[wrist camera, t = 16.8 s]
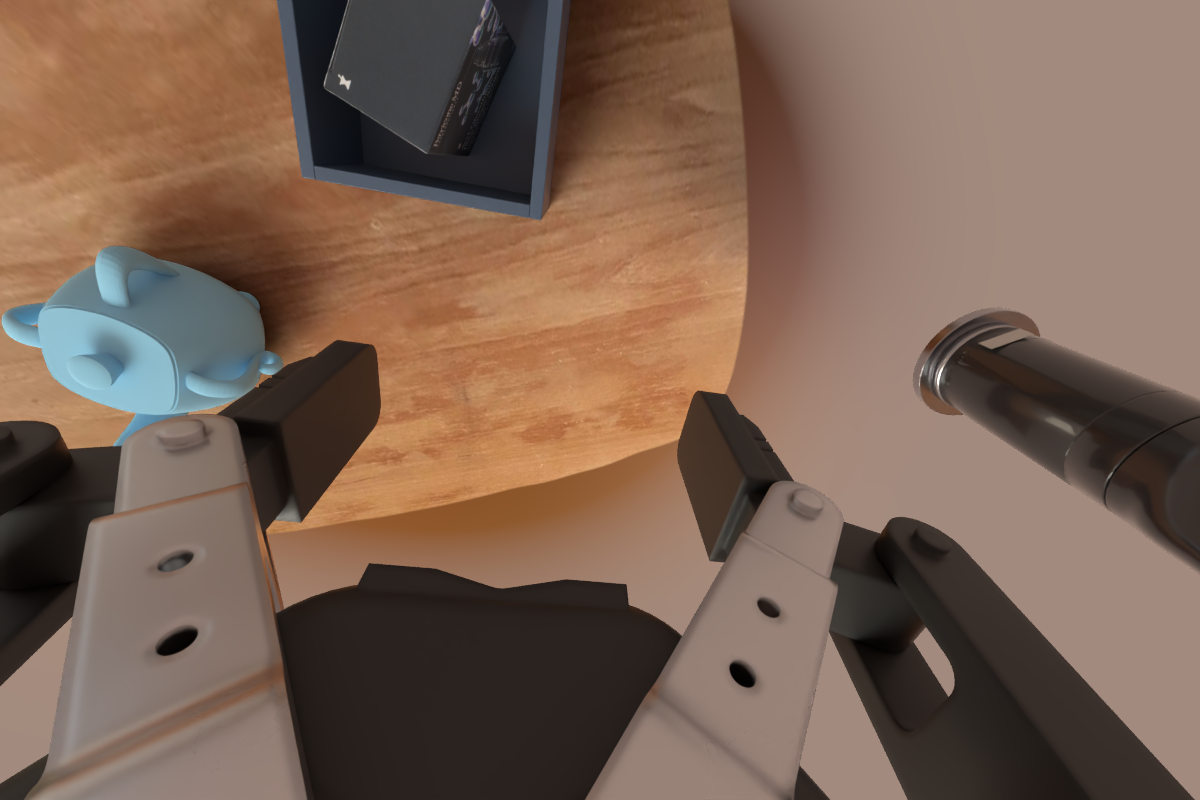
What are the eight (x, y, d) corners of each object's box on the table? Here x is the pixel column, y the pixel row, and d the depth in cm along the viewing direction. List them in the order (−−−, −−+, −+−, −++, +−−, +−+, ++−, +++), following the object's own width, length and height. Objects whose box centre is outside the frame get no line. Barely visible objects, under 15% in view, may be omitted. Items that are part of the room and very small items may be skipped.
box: (470, 158, 32) (426, 157, 23) (396, 108, 30) (316, 86, 21) (519, 45, 29) (491, -7, 20) (440, -16, 27) (369, -106, 18)
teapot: (228, 225, 35) (80, 242, 25) (329, 379, 41) (244, 443, 31) (101, 274, 36) (-87, 309, 26) (216, 416, 42) (100, 487, 32)
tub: (574, -36, 28) (573, -98, 21) (548, 208, 35) (541, 220, 28) (334, -97, 26) (250, -184, 19) (357, 173, 33) (301, 177, 26)
